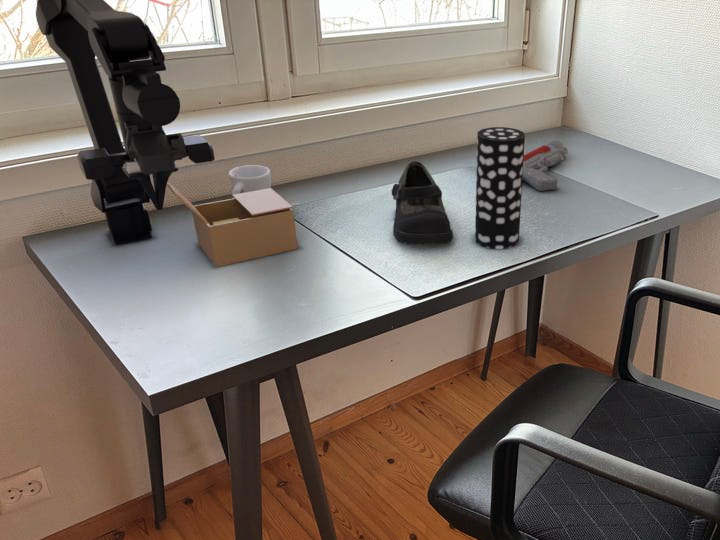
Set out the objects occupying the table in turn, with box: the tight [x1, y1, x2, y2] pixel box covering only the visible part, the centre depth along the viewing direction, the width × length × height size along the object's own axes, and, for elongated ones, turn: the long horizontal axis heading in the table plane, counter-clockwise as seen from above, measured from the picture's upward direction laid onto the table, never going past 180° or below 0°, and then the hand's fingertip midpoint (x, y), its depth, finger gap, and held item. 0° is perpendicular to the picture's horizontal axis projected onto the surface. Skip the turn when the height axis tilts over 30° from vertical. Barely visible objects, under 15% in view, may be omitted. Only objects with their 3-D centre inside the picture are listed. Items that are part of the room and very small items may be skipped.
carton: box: [191, 187, 299, 268], centre depth 131 cm, size 15×11×8 cm
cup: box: [227, 164, 272, 199], centre depth 145 cm, size 11×8×8 cm
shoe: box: [391, 161, 454, 245], centre depth 140 cm, size 11×24×10 cm, turn 11°
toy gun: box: [522, 140, 569, 192], centre depth 171 cm, size 4×27×15 cm
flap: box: [166, 181, 208, 224], centre depth 123 cm, size 7×11×1 cm
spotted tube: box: [474, 126, 526, 250], centre depth 133 cm, size 8×8×20 cm
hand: (159, 209), depth 117 cm, fingers closed
